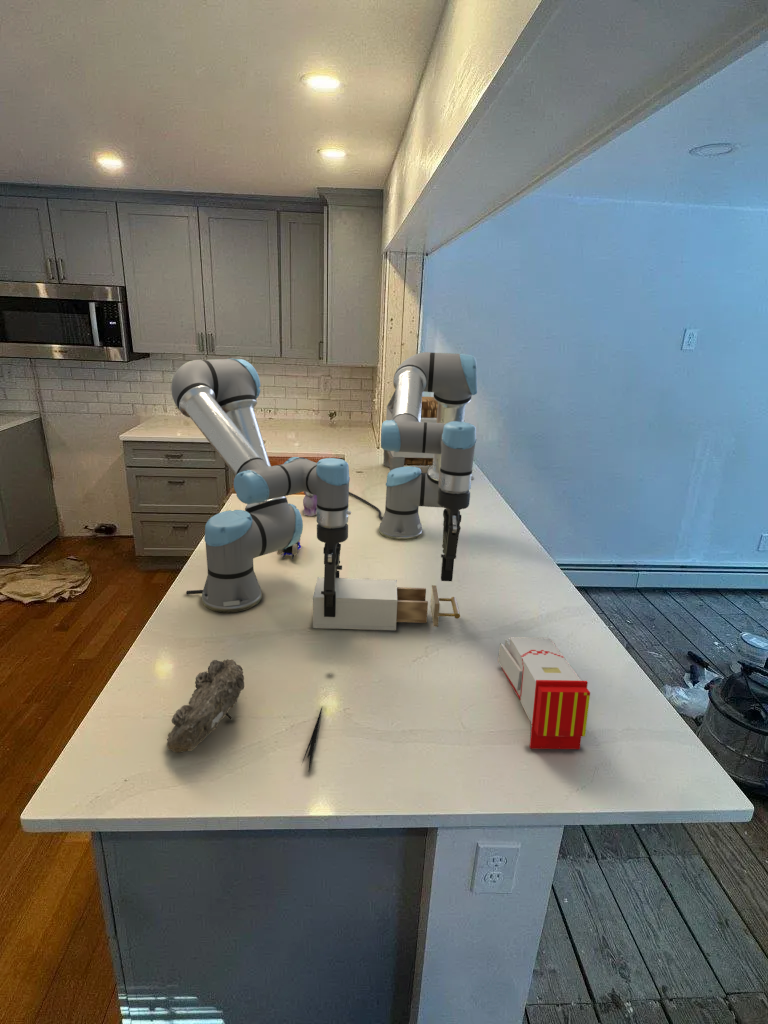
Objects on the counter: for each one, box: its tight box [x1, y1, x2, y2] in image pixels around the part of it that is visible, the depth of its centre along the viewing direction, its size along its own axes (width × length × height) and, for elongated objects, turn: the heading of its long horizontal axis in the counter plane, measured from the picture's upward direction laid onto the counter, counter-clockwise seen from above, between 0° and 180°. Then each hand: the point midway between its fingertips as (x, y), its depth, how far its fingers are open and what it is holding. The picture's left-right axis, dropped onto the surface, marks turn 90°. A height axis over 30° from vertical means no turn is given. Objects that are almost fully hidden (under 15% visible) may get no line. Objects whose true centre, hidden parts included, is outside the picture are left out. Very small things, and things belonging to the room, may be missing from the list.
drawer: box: [396, 584, 461, 628], centre depth 143 cm, size 24×10×6 cm, turn 90°
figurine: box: [302, 492, 317, 517], centre depth 214 cm, size 9×10×15 cm
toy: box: [497, 636, 591, 750], centre depth 115 cm, size 12×13×30 cm
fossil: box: [166, 658, 245, 754], centre depth 106 cm, size 22×10×15 cm
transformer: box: [383, 390, 465, 472], centre depth 268 cm, size 34×33×41 cm
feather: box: [301, 673, 332, 771], centre depth 108 cm, size 2×28×2 cm
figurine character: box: [276, 538, 302, 560], centre depth 180 cm, size 7×8×15 cm
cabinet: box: [312, 576, 398, 631], centre depth 143 cm, size 20×11×8 cm, turn 90°
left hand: (331, 604), depth 143 cm, fingers closed on cabinet, 11 cm apart
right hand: (446, 579), depth 141 cm, fingers closed
